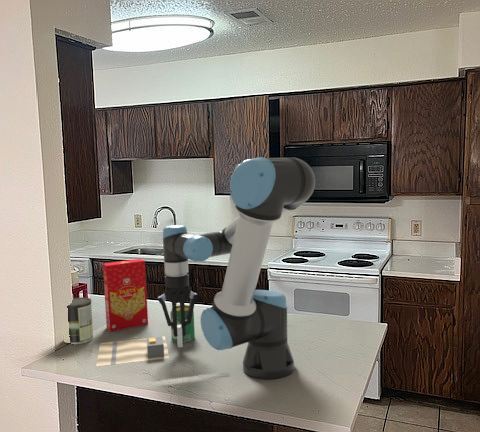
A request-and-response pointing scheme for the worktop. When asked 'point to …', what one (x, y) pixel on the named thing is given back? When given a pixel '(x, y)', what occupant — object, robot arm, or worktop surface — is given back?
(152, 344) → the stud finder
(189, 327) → the beverage can
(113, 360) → the beige flat sheet
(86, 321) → the coffee can
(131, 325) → the food packaging
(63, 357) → the worktop surface
